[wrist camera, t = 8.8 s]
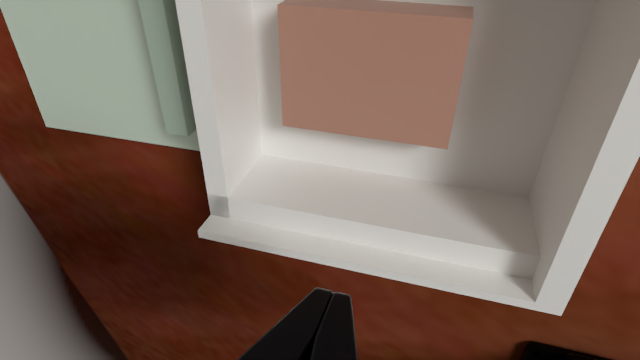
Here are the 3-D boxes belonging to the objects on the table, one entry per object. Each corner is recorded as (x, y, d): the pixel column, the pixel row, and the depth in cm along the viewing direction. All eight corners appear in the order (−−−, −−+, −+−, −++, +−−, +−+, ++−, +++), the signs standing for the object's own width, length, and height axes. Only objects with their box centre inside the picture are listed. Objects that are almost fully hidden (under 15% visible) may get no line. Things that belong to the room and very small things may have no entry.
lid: (250, 151, 25) (224, 180, 22) (55, 121, 28) (13, 144, 25) (224, -117, 18) (182, -119, 15) (-32, -116, 21) (-102, -118, 18)
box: (539, 216, 21) (561, 316, 16) (254, 167, 24) (199, 237, 19) (673, -144, 13) (798, -169, 8) (227, -141, 17) (123, -157, 12)
